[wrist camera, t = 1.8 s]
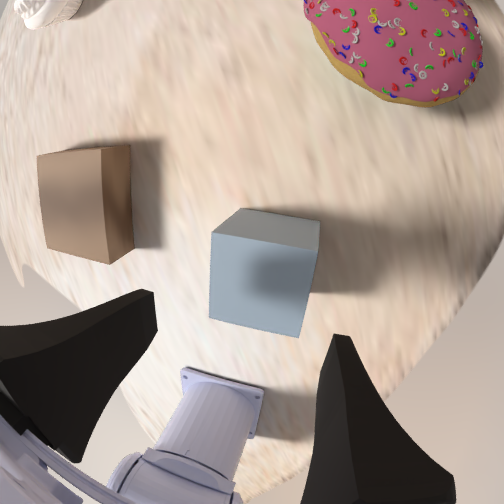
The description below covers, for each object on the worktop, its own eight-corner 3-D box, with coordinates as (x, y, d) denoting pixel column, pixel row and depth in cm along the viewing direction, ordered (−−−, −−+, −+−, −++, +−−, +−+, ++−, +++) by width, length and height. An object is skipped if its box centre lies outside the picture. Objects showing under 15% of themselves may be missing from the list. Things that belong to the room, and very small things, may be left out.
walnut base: (136, 246, 21) (109, 264, 18) (73, 234, 23) (47, 247, 20) (132, 145, 18) (100, 149, 15) (66, 150, 20) (36, 155, 17)
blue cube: (306, 291, 19) (298, 338, 14) (235, 277, 20) (209, 317, 15) (320, 221, 17) (318, 251, 12) (241, 207, 18) (211, 232, 13)
